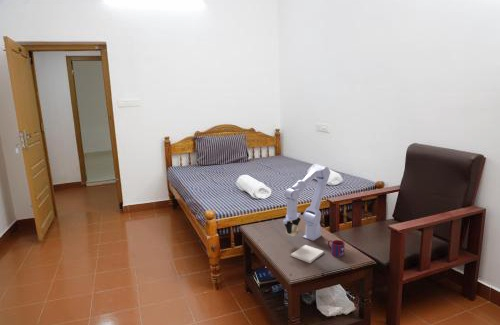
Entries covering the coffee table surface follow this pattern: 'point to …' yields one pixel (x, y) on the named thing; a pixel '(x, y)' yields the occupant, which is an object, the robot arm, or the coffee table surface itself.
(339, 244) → the mug
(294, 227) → the maple cube
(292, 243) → the coffee table surface
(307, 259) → the ceramic tile
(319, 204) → the robot arm
